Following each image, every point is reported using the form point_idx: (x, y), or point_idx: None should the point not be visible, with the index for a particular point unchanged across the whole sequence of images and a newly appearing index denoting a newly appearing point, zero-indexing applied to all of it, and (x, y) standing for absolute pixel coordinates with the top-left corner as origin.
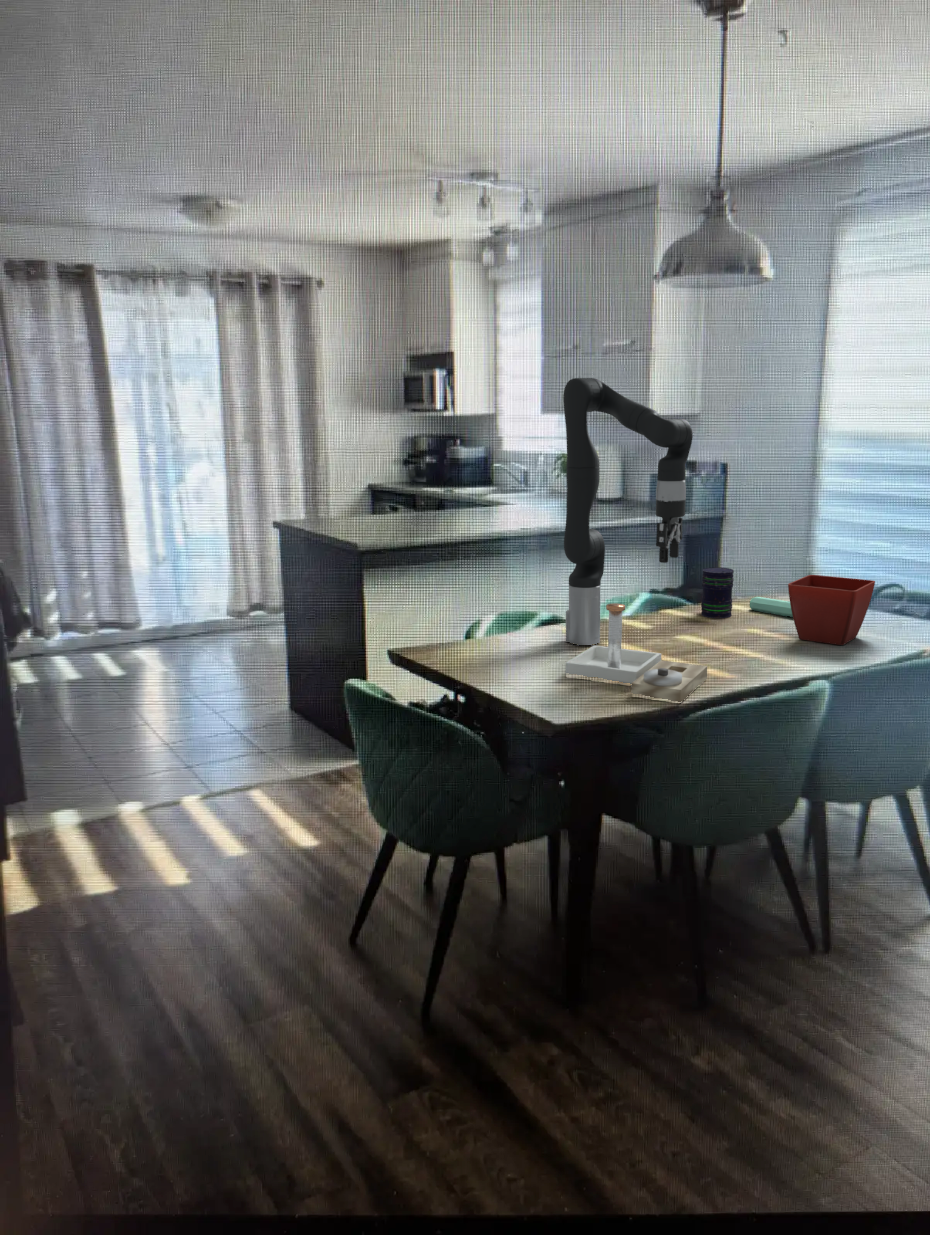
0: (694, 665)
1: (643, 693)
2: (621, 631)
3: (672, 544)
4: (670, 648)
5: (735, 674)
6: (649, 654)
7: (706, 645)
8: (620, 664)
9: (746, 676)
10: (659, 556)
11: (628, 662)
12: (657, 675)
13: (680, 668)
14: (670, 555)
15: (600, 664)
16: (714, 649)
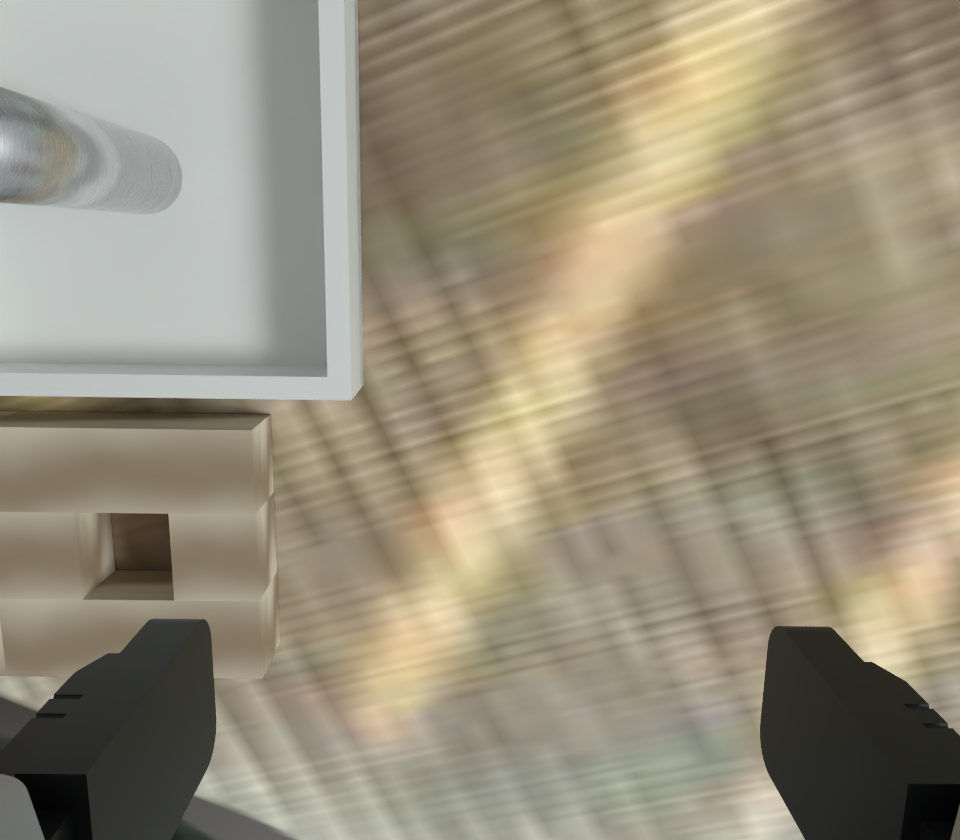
0: (237, 619)
1: None
2: (25, 204)
3: (885, 830)
4: (787, 309)
5: (424, 736)
6: (328, 331)
7: (925, 477)
8: (133, 213)
9: (414, 785)
10: (109, 665)
11: (312, 204)
12: None
13: (174, 560)
14: (779, 646)
15: (191, 60)
16: (852, 538)
